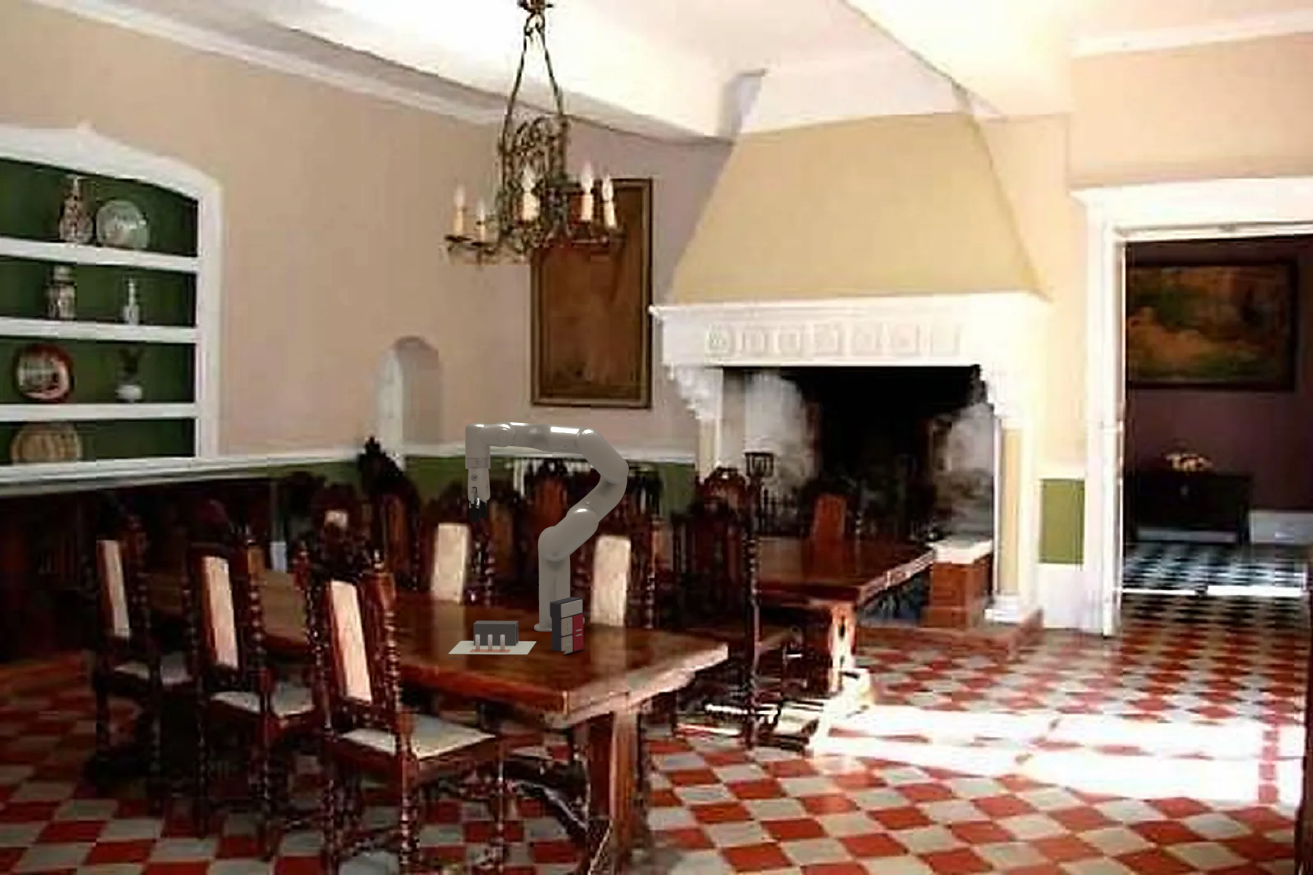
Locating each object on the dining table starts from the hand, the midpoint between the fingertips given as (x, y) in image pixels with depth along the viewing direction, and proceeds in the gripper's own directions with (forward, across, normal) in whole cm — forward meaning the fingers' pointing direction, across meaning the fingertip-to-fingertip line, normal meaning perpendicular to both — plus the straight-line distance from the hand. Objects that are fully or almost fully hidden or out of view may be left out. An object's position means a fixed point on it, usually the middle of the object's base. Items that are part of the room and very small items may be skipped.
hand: (478, 519), depth 424 cm
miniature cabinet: (+34, -30, -32) cm, 56 cm away
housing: (+33, -26, -11) cm, 43 cm away
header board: (+34, -32, -11) cm, 48 cm away
